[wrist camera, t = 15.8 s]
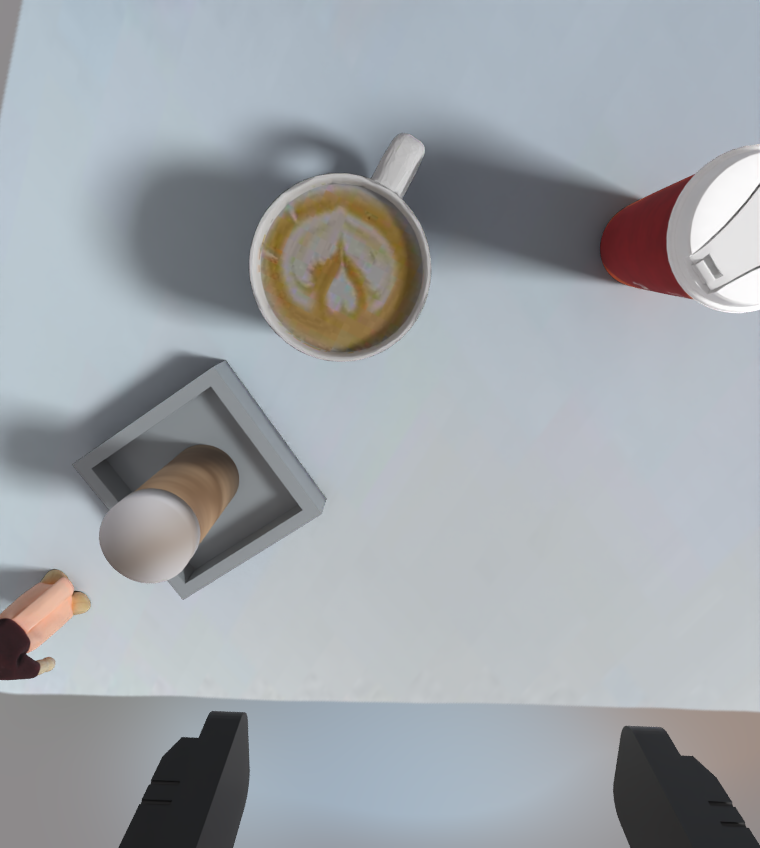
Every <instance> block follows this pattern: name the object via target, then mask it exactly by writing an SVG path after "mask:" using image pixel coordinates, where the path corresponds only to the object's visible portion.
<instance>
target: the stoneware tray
mask: <svg viewBox="0 0 760 848" xmlns="http://www.w3.org/2000/svg"><path fill="white" fill-rule="evenodd" d="M195 445H210V446H214V447H217V448H219V449H221V450H223V451H224V452H225V453H227V454H228V455H229V456H230V457H231V459H232V460H233V461H234V463H235V465H236V467H237V469H238V473H239V486H238V489H237V492H236V494H235V496H234V497H233V498H232V500H231V501H230V503H229V504H228V505H227V507H226V508H225V509H224V511H223V512H222V514H221V515H220V516H219V518H218V519H217V521H216V522H215V523H214V525H213V526H212V527H211V529H210V530H209V532H208V533H207V534H206V536H205V537H204V538H203V540H202V541H201V543H200V544H199V545H198V548H197V550H196V552H195V554H194V555H193V557H192V558H191V559H190V561H189V562H188V564H187V565H186V566H185V568H184V569H183V570H182V571H181V572H180V573H179V574H178V575H176V576H175V577H173V578H171V579H169V580H167V581H168V582H169V584H170V585H171V586H172V587H173V588H174V590H175V591H176V592H177V593H178V594H179V596H180V597H181V598H182V599H183V600H184V599H186V598H187V597H189V596H190V595H192V594H194V593H195V592H197V591H199V590H200V589H202V588H203V587H205V586H207V585H208V584H210V583H211V582H213V581H215V580H216V579H218V578H219V577H221V576H223V575H224V574H226V573H228V572H229V571H231V570H232V569H234V568H236V567H237V566H239V565H240V564H242V563H244V562H245V561H247V560H248V559H250V558H252V557H253V556H255V555H257V554H258V553H260V552H261V551H263V550H265V549H266V548H268V547H269V546H271V545H273V544H274V543H276V542H278V541H279V540H281V539H282V538H284V537H286V536H287V535H289V534H290V533H292V532H294V531H295V530H297V529H298V528H300V527H302V526H303V525H305V524H307V523H308V522H310V521H311V520H313V519H315V518H316V517H318V516H319V515H321V514H322V512H323V508H324V505H325V502H326V497H325V496H324V495H323V493H322V492H321V491H320V489H319V488H318V486H317V485H316V484H315V482H314V481H313V480H312V478H311V477H310V475H309V474H308V473H307V471H306V470H305V469H304V467H303V466H302V464H301V463H300V462H299V460H298V459H297V458H296V456H295V455H294V453H293V452H292V451H291V449H290V448H289V447H288V445H287V444H286V442H285V441H284V440H283V438H282V437H281V436H280V434H279V433H278V431H277V430H276V429H275V427H274V426H273V425H272V423H271V422H270V420H269V419H268V418H267V416H266V415H265V414H264V412H263V411H262V409H261V408H260V407H259V405H258V404H257V403H256V401H255V400H254V398H253V397H252V396H251V394H250V393H249V392H248V390H247V389H246V387H245V386H244V385H243V383H242V382H241V381H240V379H239V378H238V376H237V375H236V374H235V372H234V371H233V370H232V368H231V367H230V365H229V364H228V363H227V361H226V360H225V361H223V362H221V363H219V364H217V365H215V366H213V367H212V368H211V369H209V370H208V371H206V372H205V373H203V374H202V375H200V376H199V377H198V378H196V379H195V380H193V381H192V382H190V383H189V384H187V385H186V386H185V387H183V388H182V389H180V390H179V391H177V392H176V393H174V394H173V395H172V396H170V397H169V398H167V399H166V400H164V401H163V402H162V403H160V404H159V405H157V406H156V407H154V408H153V409H151V410H150V411H149V412H147V413H146V414H144V415H143V416H141V417H140V418H138V419H137V420H136V421H134V422H133V423H131V424H130V425H128V426H127V427H126V428H124V429H123V430H121V431H120V432H118V433H117V434H115V435H114V436H113V437H111V438H110V439H108V440H107V441H105V442H104V443H102V444H101V445H100V446H98V447H97V448H95V449H94V450H92V451H91V452H89V453H88V454H87V455H85V456H84V457H82V458H81V459H79V460H78V461H77V462H75V463H74V464H72V466H73V467H74V468H75V469H76V471H77V472H78V473H79V474H80V475H81V477H82V478H83V479H84V480H85V481H86V483H87V484H88V485H89V486H90V488H91V489H92V490H93V491H94V492H95V494H96V495H97V496H98V497H99V499H100V500H101V501H102V502H103V503H104V505H105V506H106V507H107V508H108V509H109V510H110V509H111V508H112V507H114V506H115V505H116V504H117V503H118V502H120V501H121V500H122V499H123V498H125V497H126V496H127V495H129V494H130V493H132V492H134V491H135V490H137V489H138V488H139V487H140V486H141V485H143V484H144V483H145V482H146V481H147V480H149V479H150V478H151V477H152V476H153V475H155V474H156V473H157V472H158V471H159V470H161V469H162V468H163V467H164V466H165V465H167V464H168V463H169V462H170V461H171V460H173V459H174V458H175V457H176V456H177V455H179V454H180V453H181V452H182V451H184V450H185V449H187V448H189V447H191V446H195Z"/></svg>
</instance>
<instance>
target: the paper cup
mask: <svg viewBox="0 0 760 848" xmlns="http://www.w3.org/2000/svg"><path fill="white" fill-rule="evenodd" d="M600 254H601V259H602V263H603V265H604V267H605V269H606V270H607V272H608V273H609V274H610V275H611V276H612V277H613V278H614V279H616V280H617V281H619V282H620V283H623V284H625V285H628V286H632V287H636V288H640V289H644V290H649V291H654V292H659V293H664V294H668V295H674V296H679V297H684V298H689V299H694V300H695V301H697V302H699V303H700V304H702V305H704V306H706V307H708V308H711V309H714V310H717V311H722V312H727V313H744V312H752V311H756V310H760V144H758V145H750V146H744V147H740V148H737V149H734V150H731V151H729V152H726V153H724V154H722V155H720V156H718V157H716V158H715V159H713V160H712V161H710V162H709V163H707V164H706V165H705V166H704V167H703V168H701V169H700V170H699V171H698V172H697V173H696V174H694V175H692V176H690V177H687V178H685V179H683V180H681V181H679V182H677V183H674V184H672V185H670V186H668V187H666V188H664V189H661V190H659V191H657V192H655V193H653V194H651V195H649V196H647V197H645V198H642V199H640V200H638V201H636V202H634V203H632V204H631V205H629V206H627V207H625V208H624V209H622V210H621V211H619V212H618V213H617V214H616V215H615V216H614V217H613V218H612V219H611V220H610V221H609V223H608V224H607V226H606V228H605V230H604V232H603V235H602V238H601V243H600Z"/></svg>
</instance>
